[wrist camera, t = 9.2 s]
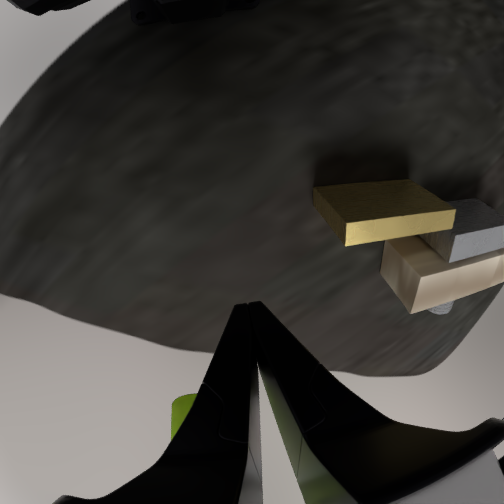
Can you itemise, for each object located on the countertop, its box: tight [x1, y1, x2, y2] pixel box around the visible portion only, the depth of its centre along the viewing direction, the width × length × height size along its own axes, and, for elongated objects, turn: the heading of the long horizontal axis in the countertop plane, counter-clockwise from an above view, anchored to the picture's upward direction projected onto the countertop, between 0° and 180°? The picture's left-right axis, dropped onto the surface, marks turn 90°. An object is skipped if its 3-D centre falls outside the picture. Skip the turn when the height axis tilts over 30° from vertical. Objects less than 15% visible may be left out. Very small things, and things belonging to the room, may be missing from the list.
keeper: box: [313, 179, 456, 246], centre depth 16 cm, size 1×7×5 cm, turn 95°
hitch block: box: [380, 234, 504, 314], centre depth 19 cm, size 3×12×5 cm, turn 95°
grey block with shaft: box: [418, 198, 504, 314], centre depth 19 cm, size 9×7×5 cm
